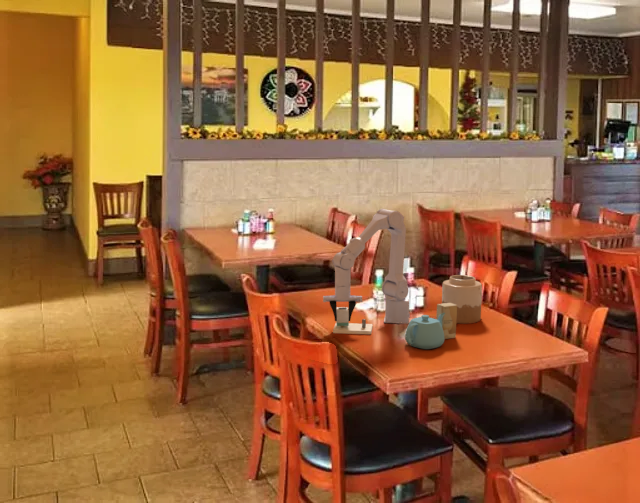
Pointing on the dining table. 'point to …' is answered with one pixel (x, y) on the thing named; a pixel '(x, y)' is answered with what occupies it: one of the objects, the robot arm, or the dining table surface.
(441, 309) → the skincare box
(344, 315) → the teal banded block
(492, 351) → the dining table surface
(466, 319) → the vase
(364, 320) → the pin board
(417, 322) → the teapot
